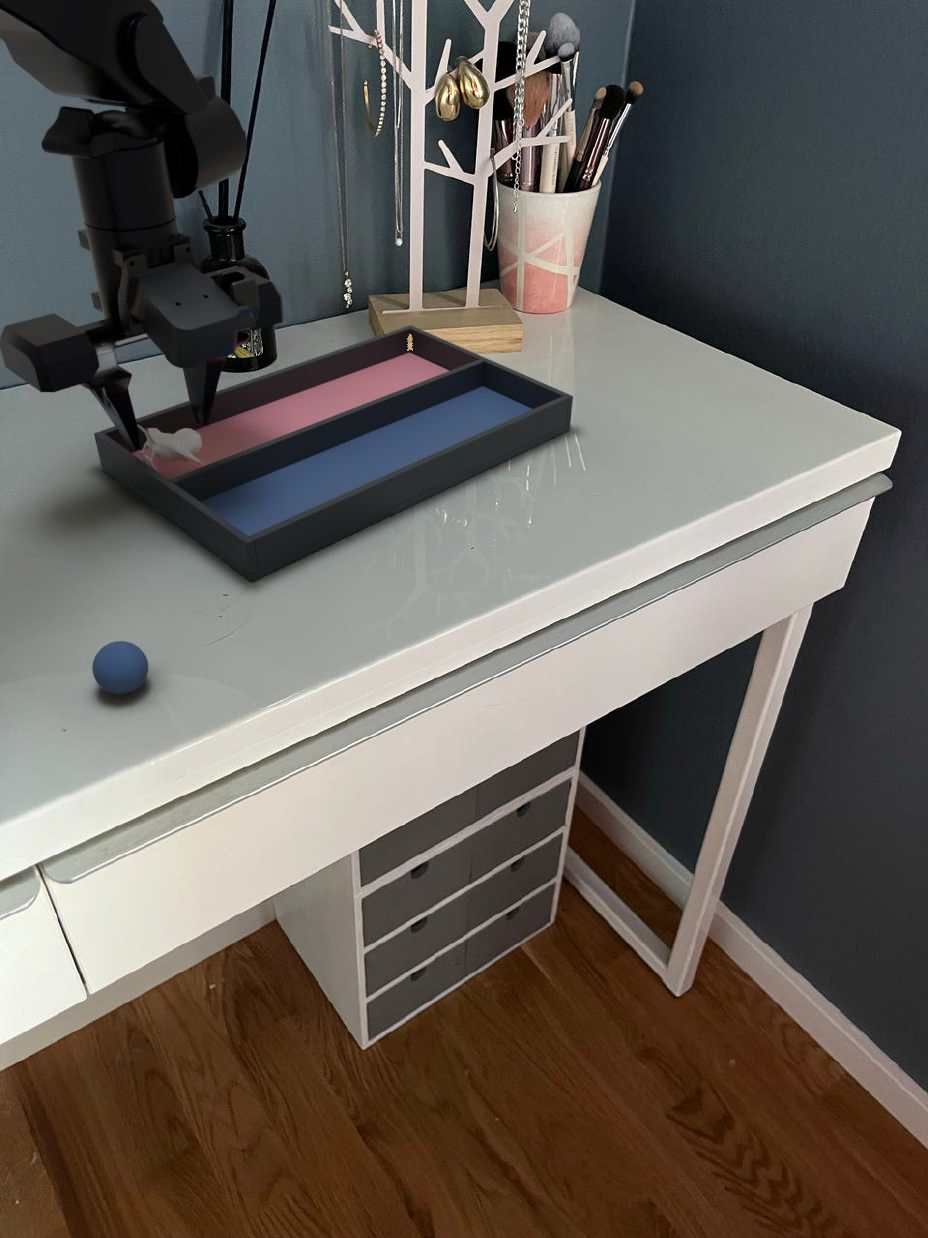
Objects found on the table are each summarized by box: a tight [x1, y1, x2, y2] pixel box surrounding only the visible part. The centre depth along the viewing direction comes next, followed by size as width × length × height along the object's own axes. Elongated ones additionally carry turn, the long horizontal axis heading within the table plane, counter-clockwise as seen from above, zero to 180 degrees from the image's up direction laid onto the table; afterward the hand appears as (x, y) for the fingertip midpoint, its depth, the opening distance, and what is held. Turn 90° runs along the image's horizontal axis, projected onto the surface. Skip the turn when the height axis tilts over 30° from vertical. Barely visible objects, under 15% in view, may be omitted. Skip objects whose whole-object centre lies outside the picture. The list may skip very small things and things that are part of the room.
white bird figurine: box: [137, 424, 205, 471], centre depth 73 cm, size 8×5×5 cm, turn 41°
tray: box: [93, 324, 574, 583], centre depth 79 cm, size 32×20×3 cm, turn 134°
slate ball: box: [92, 640, 149, 695], centre depth 56 cm, size 3×3×3 cm
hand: (169, 436), depth 73 cm, fingers open, 5 cm apart
